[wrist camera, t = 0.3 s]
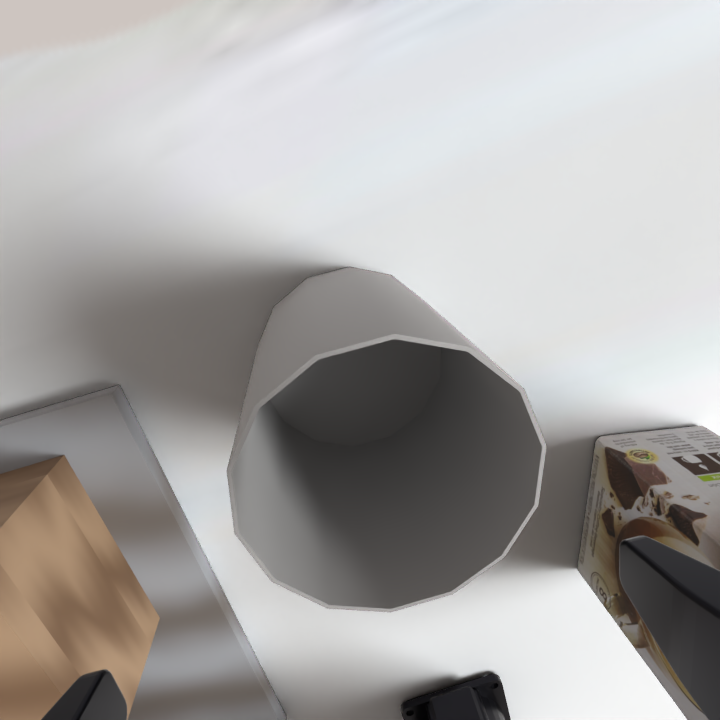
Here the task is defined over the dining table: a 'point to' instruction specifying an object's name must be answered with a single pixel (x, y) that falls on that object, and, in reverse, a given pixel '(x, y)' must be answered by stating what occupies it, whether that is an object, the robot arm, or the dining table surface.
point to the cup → (378, 449)
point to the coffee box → (651, 522)
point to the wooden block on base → (110, 575)
